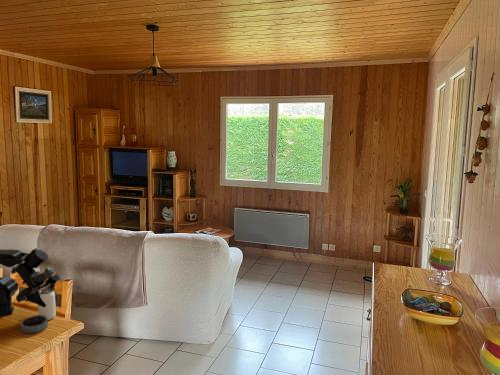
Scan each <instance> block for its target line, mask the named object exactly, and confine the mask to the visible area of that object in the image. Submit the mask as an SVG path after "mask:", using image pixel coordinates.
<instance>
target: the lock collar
mask: <svg viewBox="0 0 500 375" xmlns="http://www.w3.org/2000/svg"><path fill="white" fill-rule="evenodd" d="M47 328H48V320H47V317H45V316H40V315H32V316H29V317H26V318H24V319H22V321H20V332H21V333H22V334H25V335H34V334H38V333H42V332H43V331H45V330H47Z"/></svg>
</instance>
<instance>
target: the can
mask: <svg viewBox="0 0 500 375" xmlns="http://www.w3.org/2000/svg"><path fill="white" fill-rule="evenodd" d="M38 293H39V296H40V298H41V299H42V301H43V302H44V303H45V304H46V306H45V307H42V306H40V305H38V304H37V310H38V311H37V312H38V315H40V316H45V317H47V321H50V320H52V319H54V318H55V317H56V314H57V313H56V301H55V293H56V291H55V292H54V289H52V288H42V289H40V290H38ZM38 315H37V316H38Z"/></svg>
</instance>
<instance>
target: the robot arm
mask: <svg viewBox="0 0 500 375" xmlns="http://www.w3.org/2000/svg"><path fill="white" fill-rule="evenodd" d="M48 257H49V256H48V254H47V253H46V252H45V251H43V250H41V249H38V248H37V247H35V248H34V249H32V250H31V251H30V253H27V252H22V251H21V250H18V249H11V248H10V249H0V265H2V266H4V267H6V268H11V269H12V270H11V271H10V273H11V275H14V274H16V273H17V275H18V276H19V277H20V278H21V280H22V281H21V282H22V284H23V285H26V286H27V287H25V288H23V289H22V290H21V291H20V292H19V293H18V294H17V295H16V293H17V292H18V290H19V283H18V282H17V280H16V279H15V278H12V277H11V276H9V275H5V276H4V277H0V317H1V316H5V315H6V316H8V315H12V314H13V312H14V309H15V306H13V300H12V299H13V298H12V297H13V296H15V295H16V296H15V300H16V301H17V303H21V302H23V301H25V302H29V303H30V302H31V303H34V304H36V305H37V306H38V305H40V306H42V307H45V306H46V304H45V303H44V302H43V301H42V299H41V298H40V296H39V291H40V290H42V289H45V288H52V289H54V292H55V302H56V301H58V296H57V294H56V289H55V286H56V284H57V283H58V282H59V281H60V279H61V277H60V276H59V275H58V274H54V270H53V269H52V267H48V268H45V269H44V271H43V272H40V271H38V270H37V271H36V269H38V268H39V267H40V266H41V265H42V264H43V263H44V262H46V261H47V260H48ZM16 265H17V266H16Z"/></svg>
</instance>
